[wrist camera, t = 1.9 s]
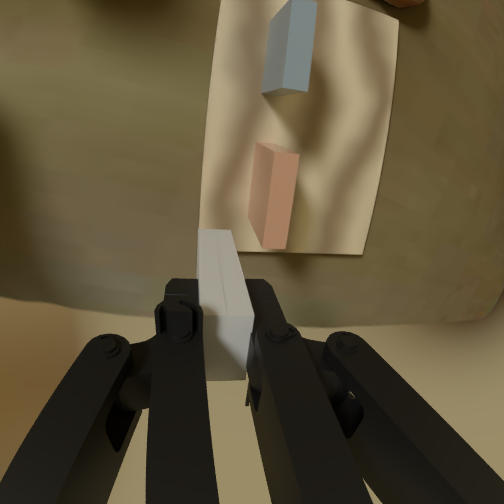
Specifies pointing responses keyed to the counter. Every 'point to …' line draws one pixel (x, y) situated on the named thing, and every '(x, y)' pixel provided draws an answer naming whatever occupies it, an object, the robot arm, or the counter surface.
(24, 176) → the counter surface
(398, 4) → the bread roll
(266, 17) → the board
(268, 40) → the tile blue
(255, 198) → the pink square tile
